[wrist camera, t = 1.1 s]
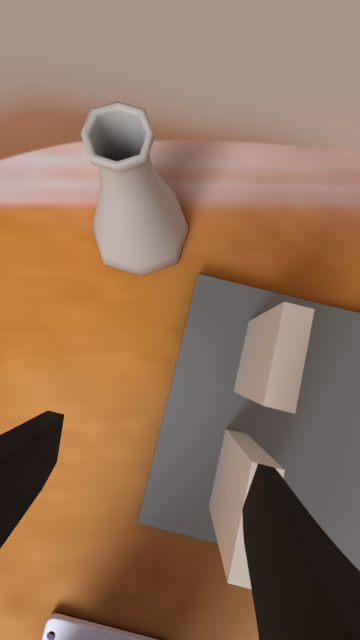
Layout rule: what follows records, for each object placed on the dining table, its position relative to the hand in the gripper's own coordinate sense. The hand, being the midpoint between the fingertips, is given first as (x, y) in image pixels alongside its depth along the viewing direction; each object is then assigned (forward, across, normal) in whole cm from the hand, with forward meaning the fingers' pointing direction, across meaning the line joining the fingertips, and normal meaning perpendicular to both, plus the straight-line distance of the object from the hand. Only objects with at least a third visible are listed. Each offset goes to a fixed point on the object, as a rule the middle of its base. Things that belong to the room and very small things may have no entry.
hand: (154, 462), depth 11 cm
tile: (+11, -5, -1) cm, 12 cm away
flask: (+15, +5, -8) cm, 17 cm away
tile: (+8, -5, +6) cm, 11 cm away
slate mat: (+10, -8, +2) cm, 13 cm away
